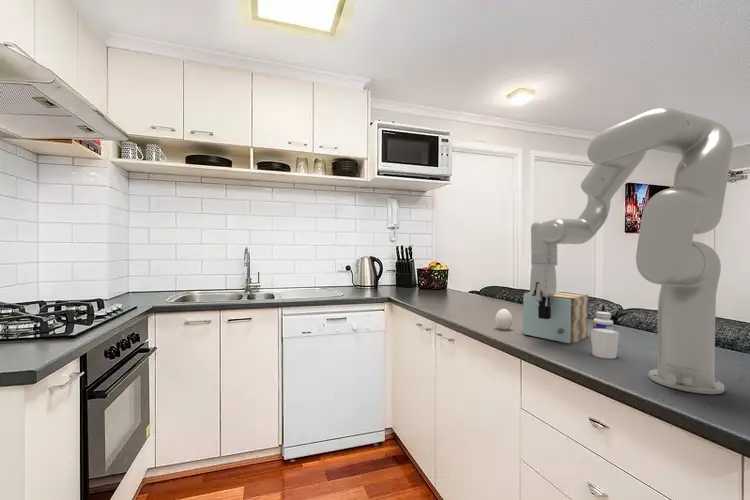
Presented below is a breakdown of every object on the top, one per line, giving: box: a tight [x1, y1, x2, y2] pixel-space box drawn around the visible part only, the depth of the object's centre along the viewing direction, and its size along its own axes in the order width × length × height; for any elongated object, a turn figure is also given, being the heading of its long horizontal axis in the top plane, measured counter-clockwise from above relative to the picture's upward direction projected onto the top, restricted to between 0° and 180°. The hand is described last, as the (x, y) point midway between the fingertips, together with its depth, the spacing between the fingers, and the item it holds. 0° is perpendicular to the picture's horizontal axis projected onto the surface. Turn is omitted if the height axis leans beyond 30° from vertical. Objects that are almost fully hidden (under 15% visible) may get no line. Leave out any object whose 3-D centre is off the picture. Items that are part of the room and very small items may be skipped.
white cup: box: [589, 327, 620, 360], centre depth 99 cm, size 7×7×7 cm
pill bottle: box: [592, 311, 614, 330], centre depth 112 cm, size 5×5×10 cm
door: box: [522, 294, 571, 344], centre depth 115 cm, size 2×15×14 cm, turn 38°
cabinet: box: [523, 291, 589, 344], centre depth 121 cm, size 14×16×14 cm
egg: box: [494, 308, 514, 330], centre depth 130 cm, size 6×6×8 cm
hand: (544, 318), depth 112 cm, fingers closed
